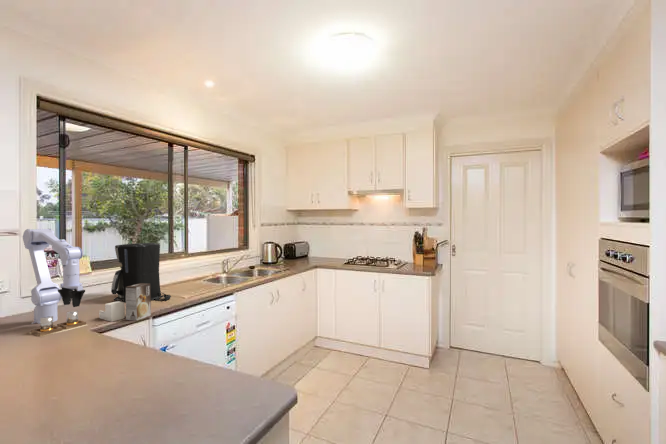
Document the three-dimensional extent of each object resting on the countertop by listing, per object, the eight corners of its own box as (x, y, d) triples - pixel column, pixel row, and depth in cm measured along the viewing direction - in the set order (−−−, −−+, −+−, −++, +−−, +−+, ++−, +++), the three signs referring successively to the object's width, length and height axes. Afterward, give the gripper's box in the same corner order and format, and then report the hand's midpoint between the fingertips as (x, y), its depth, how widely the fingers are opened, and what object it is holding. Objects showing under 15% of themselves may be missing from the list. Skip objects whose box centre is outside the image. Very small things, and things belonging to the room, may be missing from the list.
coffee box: (140, 315, 167) (139, 282, 167) (151, 315, 166) (151, 283, 166) (125, 320, 158) (125, 286, 158) (137, 321, 157) (136, 287, 157)
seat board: (28, 335, 138) (28, 329, 138) (75, 323, 153) (75, 318, 153) (41, 339, 133) (41, 333, 133) (88, 327, 148) (88, 322, 148)
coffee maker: (124, 295, 211) (123, 242, 211) (178, 293, 216) (178, 241, 216) (105, 304, 189) (105, 244, 189) (166, 301, 194) (166, 243, 194)
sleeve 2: (64, 326, 147) (64, 312, 146) (74, 323, 150) (74, 310, 150) (69, 327, 145) (69, 313, 145) (80, 324, 149) (80, 311, 149)
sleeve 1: (38, 332, 138) (38, 318, 138) (50, 329, 142) (50, 315, 142) (43, 334, 137) (43, 319, 137) (55, 331, 140) (55, 316, 140)
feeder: (98, 319, 160) (97, 302, 160) (111, 316, 165) (111, 299, 165) (111, 322, 155) (111, 305, 155) (124, 319, 160) (124, 302, 160)
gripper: (90, 274, 147) (90, 305, 148) (73, 272, 154) (73, 301, 154) (72, 276, 141) (72, 309, 141) (54, 274, 148) (55, 305, 148)
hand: (71, 305), depth 147 cm, fingers open, 7 cm apart
